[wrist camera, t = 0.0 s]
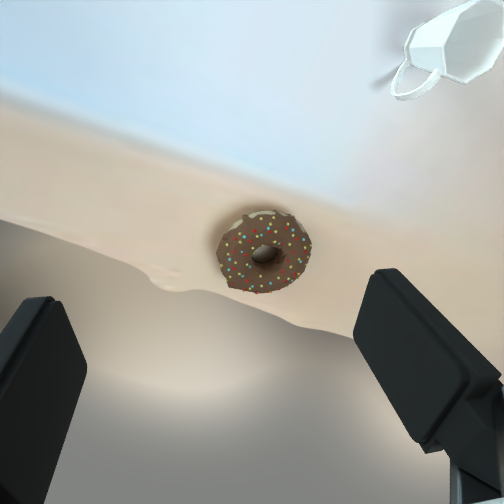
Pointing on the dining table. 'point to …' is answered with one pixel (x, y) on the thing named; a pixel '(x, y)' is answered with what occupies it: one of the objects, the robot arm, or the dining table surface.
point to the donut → (259, 234)
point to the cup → (454, 45)
